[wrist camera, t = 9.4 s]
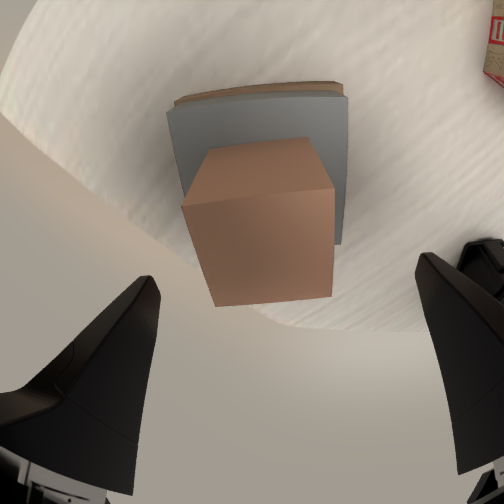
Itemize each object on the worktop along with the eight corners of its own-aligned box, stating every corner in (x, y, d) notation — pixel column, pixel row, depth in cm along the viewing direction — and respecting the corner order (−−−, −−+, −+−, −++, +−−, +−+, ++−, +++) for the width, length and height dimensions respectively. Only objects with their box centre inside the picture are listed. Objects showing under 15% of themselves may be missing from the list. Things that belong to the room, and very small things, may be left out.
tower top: (332, 218, 20) (340, 244, 17) (206, 226, 21) (198, 252, 18) (333, 90, 14) (347, 97, 12) (181, 103, 15) (166, 112, 13)
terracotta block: (312, 219, 16) (331, 296, 12) (227, 228, 17) (215, 306, 12) (307, 136, 13) (334, 188, 9) (209, 149, 14) (180, 206, 9)
